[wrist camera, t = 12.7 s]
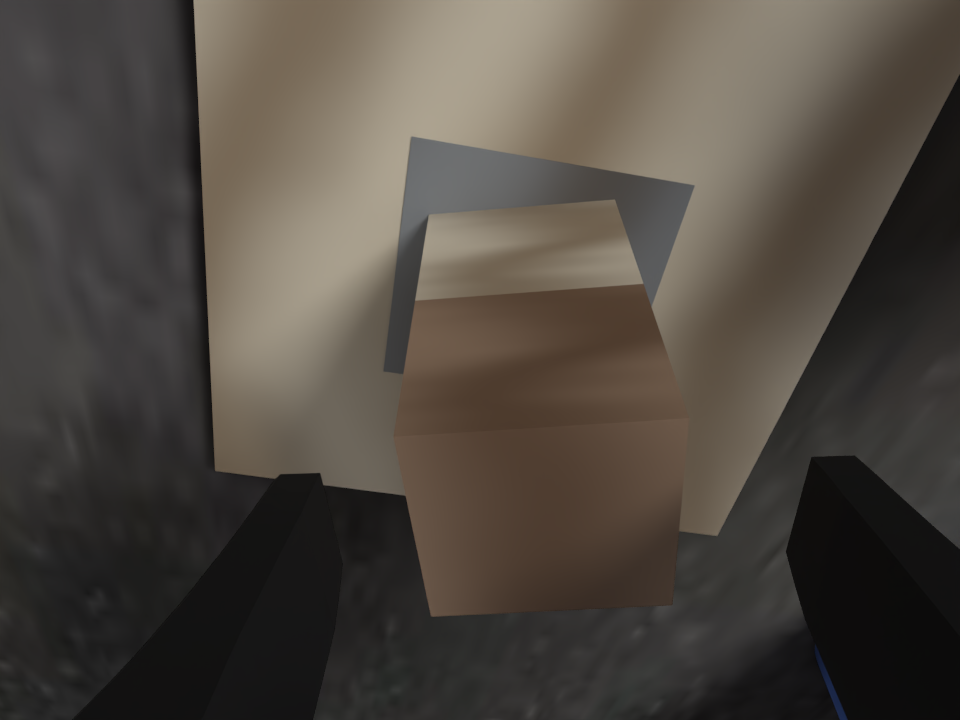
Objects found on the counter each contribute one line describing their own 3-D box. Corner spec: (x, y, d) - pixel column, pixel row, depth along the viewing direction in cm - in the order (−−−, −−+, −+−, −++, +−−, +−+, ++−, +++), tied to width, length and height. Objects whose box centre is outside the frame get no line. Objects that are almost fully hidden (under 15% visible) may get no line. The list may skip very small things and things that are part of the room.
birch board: (965, -5, 16) (997, 5, 15) (708, 508, 25) (717, 536, 24) (206, -160, 15) (185, -159, 14) (226, 444, 24) (214, 471, 23)
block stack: (615, 199, 17) (689, 417, 11) (612, 352, 20) (672, 605, 13) (429, 214, 18) (393, 437, 11) (450, 364, 20) (431, 616, 14)
